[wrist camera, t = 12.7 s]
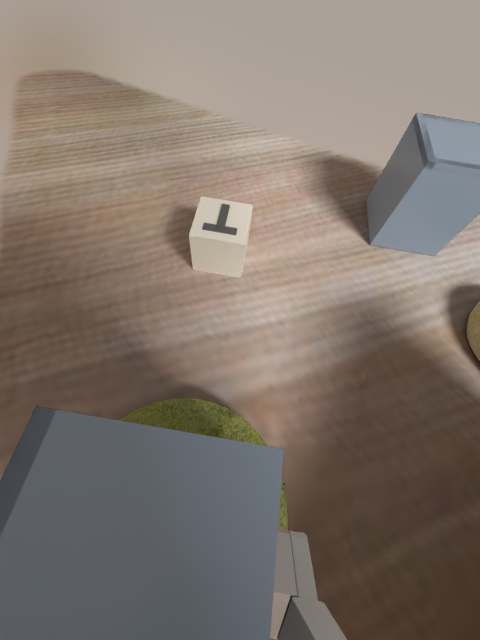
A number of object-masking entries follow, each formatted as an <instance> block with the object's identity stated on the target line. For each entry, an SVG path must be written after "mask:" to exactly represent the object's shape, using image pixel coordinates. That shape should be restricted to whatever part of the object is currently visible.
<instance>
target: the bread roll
mask: <svg viewBox="0 0 480 640" xmlns="http://www.w3.org/2000/svg"><path fill="white" fill-rule="evenodd" d="M467 338H468V341H469V344H470V346H471V349H472V351H473V352H474V354H475V356H476V357H477V358H478V360H479V361H480V302H478V303H477V304H476V306H475V307H474V309H473V310H472V311H471V313H470V315H469V318H468V324H467Z"/></svg>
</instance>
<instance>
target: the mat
mask: <svg viewBox="0 0 480 640" xmlns="http://www.w3.org/2000/svg"><path fill="white" fill-rule="evenodd" d="M119 420H120V421H125V422H131V423H137V424H143V425H148V426H154V427H160V428H166V429H171V430H177V431H183V432H189V433H194V434H200V435H206V436H212V437H217V438H223V439H229V440H235V441H240V442H246V443H252V444H258V445H263V446H267V445H266V444H265V443H264V442H263V441H262V439H261V437H260V435H259V434H258V432H257V431H256V430H255V429H253V428H252V426H251V425H250V424H249V423H248V422H247V421H245V420H244V419H243V418H241V416H239V415H237V414H236V413H234V412H233V411H231V410H229V409H228V408H226V407H223V406H221V405H219V404H217V403H214V402H209V401H207V400H205V401H204V400H201V399H195V398H191V399H190V398H175V399H174V398H172V399H165V400H161V401H156V402H154V403H150V404H147V405H145V406H143V407H141V408H138V409H136V410H134V411H132V412H131V413H129V414H127V415H126V416H124V417H123V418H121V419H119ZM278 528H280V529H287V530H288V516H287V502H286V496H285V491H284V483H283V482H282V484H281V497H280V511H279V524H278Z"/></svg>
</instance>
